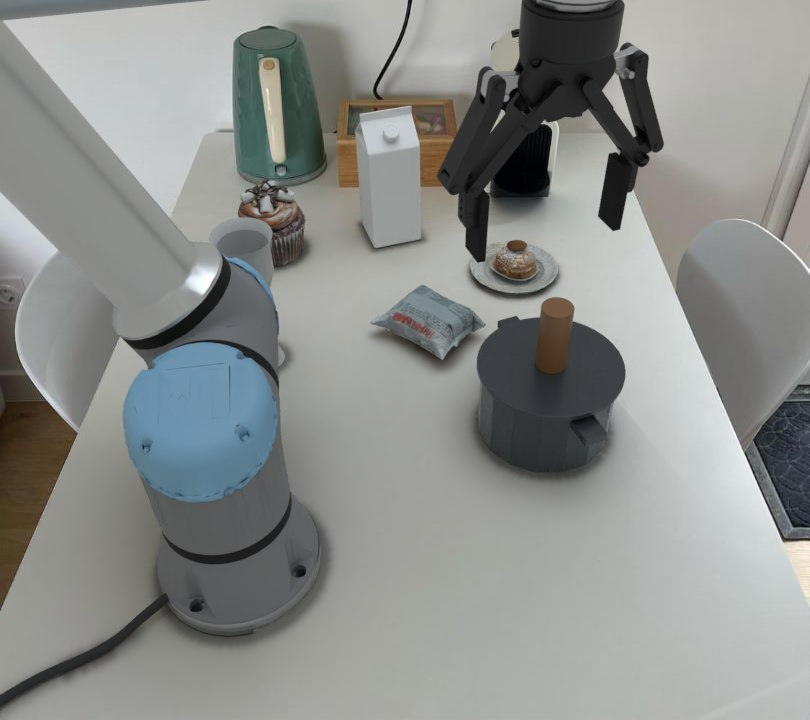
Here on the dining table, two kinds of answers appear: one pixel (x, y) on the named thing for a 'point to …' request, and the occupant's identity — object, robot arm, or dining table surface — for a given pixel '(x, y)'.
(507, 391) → the lid
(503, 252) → the pastry
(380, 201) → the milk carton
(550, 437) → the pot
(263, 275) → the chalice
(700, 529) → the dining table surface
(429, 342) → the packaged food
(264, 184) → the cupcake
